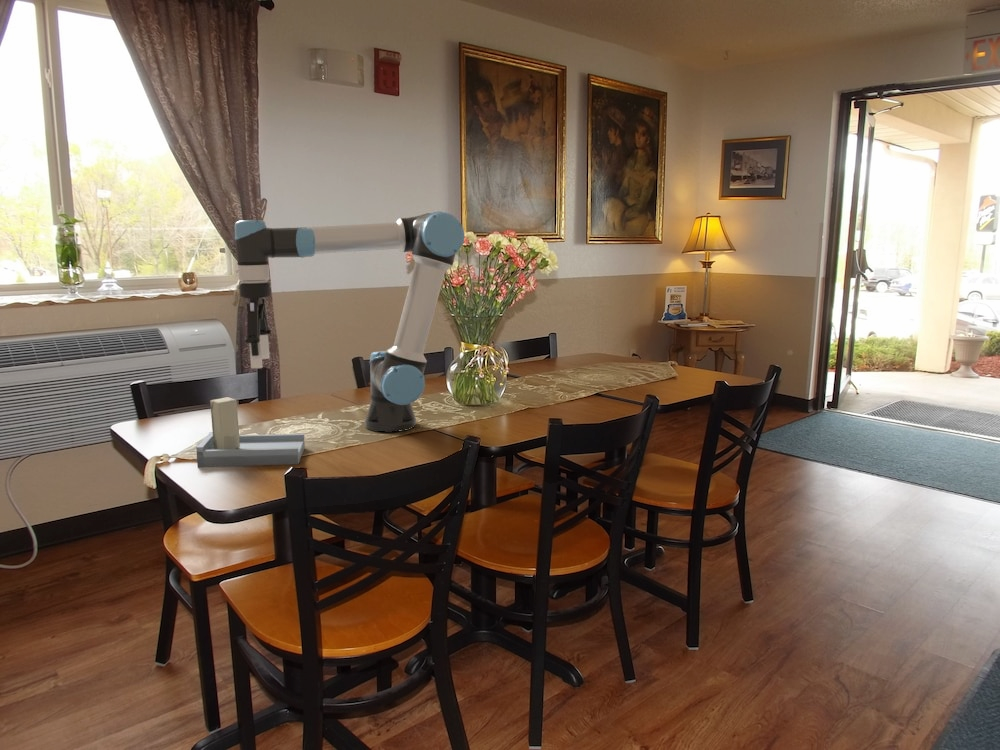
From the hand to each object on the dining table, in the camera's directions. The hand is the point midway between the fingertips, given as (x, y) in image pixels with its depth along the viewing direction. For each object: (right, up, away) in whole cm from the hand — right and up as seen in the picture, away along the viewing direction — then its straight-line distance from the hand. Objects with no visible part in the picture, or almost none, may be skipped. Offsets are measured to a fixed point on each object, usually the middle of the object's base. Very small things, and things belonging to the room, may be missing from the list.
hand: (260, 363), depth 187 cm
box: (-7, -22, -5) cm, 24 cm away
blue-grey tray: (-1, -24, -3) cm, 24 cm away
